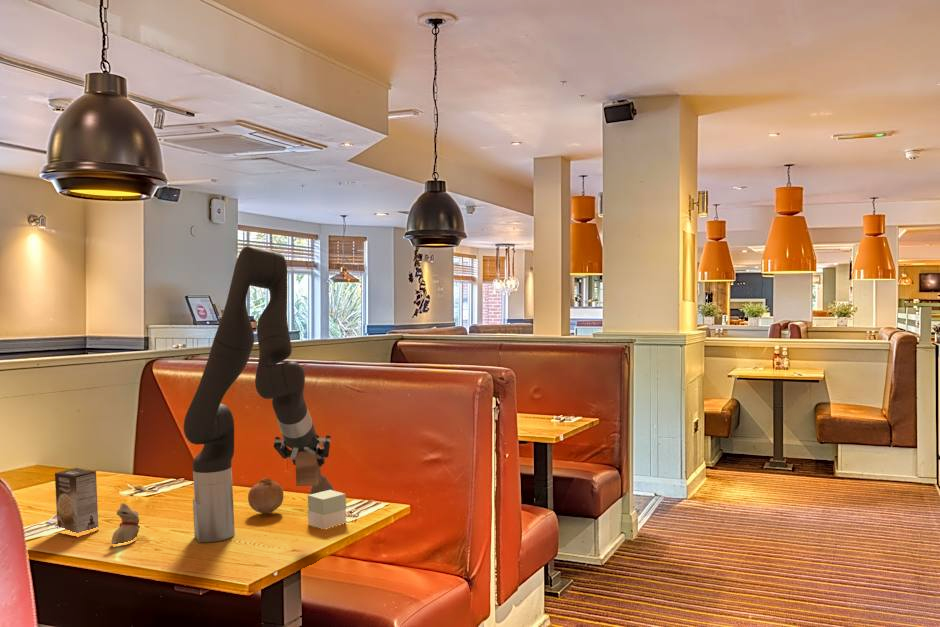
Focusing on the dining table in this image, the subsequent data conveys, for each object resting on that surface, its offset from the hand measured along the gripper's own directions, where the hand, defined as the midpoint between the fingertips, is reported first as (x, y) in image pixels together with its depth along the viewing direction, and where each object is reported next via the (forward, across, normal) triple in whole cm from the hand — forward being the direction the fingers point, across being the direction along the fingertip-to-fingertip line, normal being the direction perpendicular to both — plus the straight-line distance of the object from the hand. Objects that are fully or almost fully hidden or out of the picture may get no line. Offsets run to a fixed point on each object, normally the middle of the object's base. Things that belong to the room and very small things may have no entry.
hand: (309, 463), depth 195 cm
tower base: (+19, -2, +6) cm, 20 cm away
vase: (+30, +3, -5) cm, 31 cm away
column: (+2, 0, +4) cm, 5 cm away
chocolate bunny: (+12, +46, +14) cm, 50 cm away
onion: (+27, +17, -1) cm, 32 cm away
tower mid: (+16, -2, +4) cm, 17 cm away
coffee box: (+19, +64, +8) cm, 67 cm away
